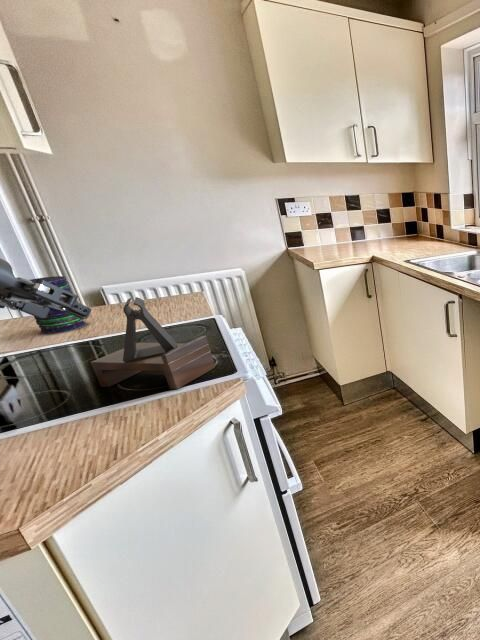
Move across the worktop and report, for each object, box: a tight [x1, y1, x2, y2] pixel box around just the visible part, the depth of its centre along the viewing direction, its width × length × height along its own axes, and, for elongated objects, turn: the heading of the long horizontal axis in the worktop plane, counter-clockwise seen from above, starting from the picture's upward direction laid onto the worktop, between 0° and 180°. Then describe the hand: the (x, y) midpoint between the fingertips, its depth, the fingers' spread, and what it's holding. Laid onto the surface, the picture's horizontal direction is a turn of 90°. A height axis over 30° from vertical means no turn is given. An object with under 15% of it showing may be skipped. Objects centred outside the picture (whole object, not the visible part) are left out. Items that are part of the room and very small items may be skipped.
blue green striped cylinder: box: [29, 275, 86, 335], centre depth 125 cm, size 10×10×15 cm
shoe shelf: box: [90, 335, 216, 390], centre depth 94 cm, size 18×11×8 cm, turn 85°
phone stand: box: [122, 296, 177, 362], centre depth 91 cm, size 9×6×12 cm, turn 126°
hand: (66, 314), depth 77 cm, fingers open, 8 cm apart
